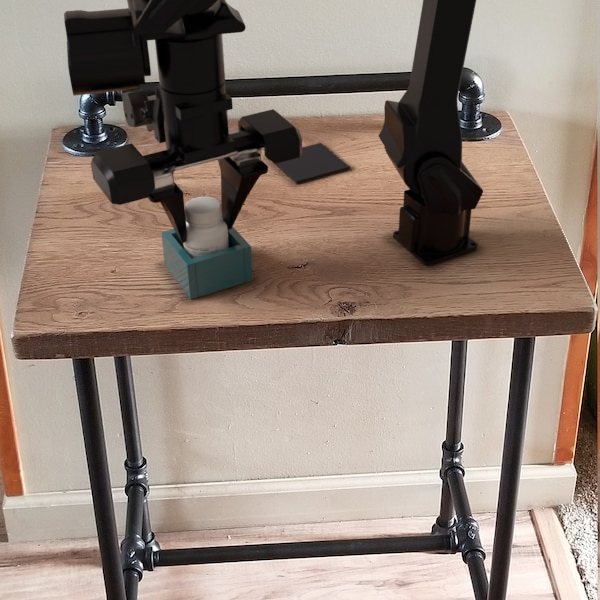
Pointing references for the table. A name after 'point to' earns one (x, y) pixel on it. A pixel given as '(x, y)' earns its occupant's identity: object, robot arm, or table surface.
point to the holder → (208, 265)
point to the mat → (313, 164)
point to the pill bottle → (204, 227)
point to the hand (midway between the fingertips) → (205, 233)
